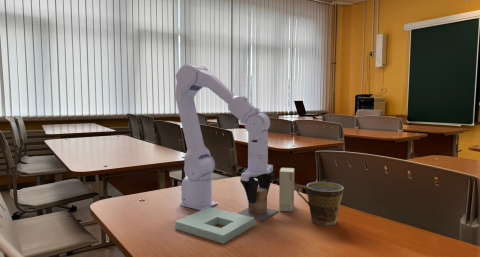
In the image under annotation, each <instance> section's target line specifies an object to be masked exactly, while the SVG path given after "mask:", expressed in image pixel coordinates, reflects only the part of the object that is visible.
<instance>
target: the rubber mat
mask: <svg viewBox="0 0 480 257" xmlns="http://www.w3.org/2000/svg"><path fill="white" fill-rule="evenodd" d="M236 213H237V214H241V215H245V216H249V217H253V218H255V221H260V222H264V221H266V220H267V219H269V218H271V217H273V216H275V215H276V214H277V213H279V210H277V209H276V210H275V209H271V208H268V207H267V212H265V213H264V214H262V215H256V214H252V213H248V207H247V208H245V209H243V210H241V211H239V212H236Z"/></svg>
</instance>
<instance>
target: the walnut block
mask: <svg viewBox="0 0 480 257" xmlns="http://www.w3.org/2000/svg"><path fill="white" fill-rule="evenodd" d="M247 203H248V204H247V205H248V207H247V208H248V213H252V214H256V215H262V214H264V213H265V212H267V208H268V195H267V189H266V188H261V187H259V186H258V189H257V196H256V202H255V203H249V202H248V201H247Z"/></svg>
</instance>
